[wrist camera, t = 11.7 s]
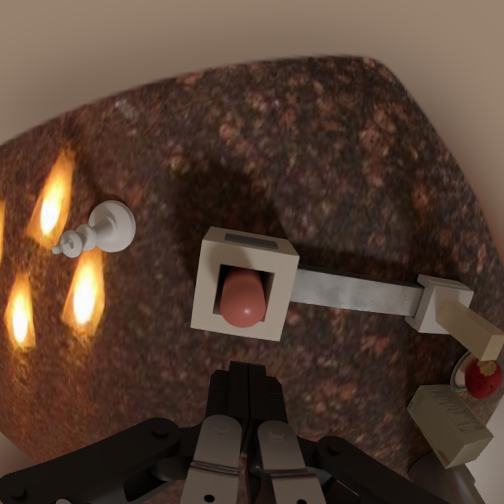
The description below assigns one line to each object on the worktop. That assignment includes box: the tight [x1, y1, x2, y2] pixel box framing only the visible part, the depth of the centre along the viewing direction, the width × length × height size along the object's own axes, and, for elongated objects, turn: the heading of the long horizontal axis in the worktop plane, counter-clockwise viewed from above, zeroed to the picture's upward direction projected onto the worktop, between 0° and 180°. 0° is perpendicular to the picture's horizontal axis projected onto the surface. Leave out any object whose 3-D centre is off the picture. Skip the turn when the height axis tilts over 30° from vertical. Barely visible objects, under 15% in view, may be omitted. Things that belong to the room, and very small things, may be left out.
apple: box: [450, 351, 502, 399], centre depth 30 cm, size 8×8×6 cm
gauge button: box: [220, 266, 266, 328], centre depth 23 cm, size 3×3×5 cm
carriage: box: [404, 274, 504, 361], centre depth 24 cm, size 6×5×11 cm
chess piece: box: [52, 200, 135, 258], centre depth 22 cm, size 5×5×10 cm
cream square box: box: [191, 226, 300, 341], centre depth 26 cm, size 7×7×6 cm
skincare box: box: [407, 385, 494, 469], centre depth 28 cm, size 6×4×12 cm
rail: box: [289, 263, 466, 316], centre depth 29 cm, size 21×5×2 cm, turn 80°
